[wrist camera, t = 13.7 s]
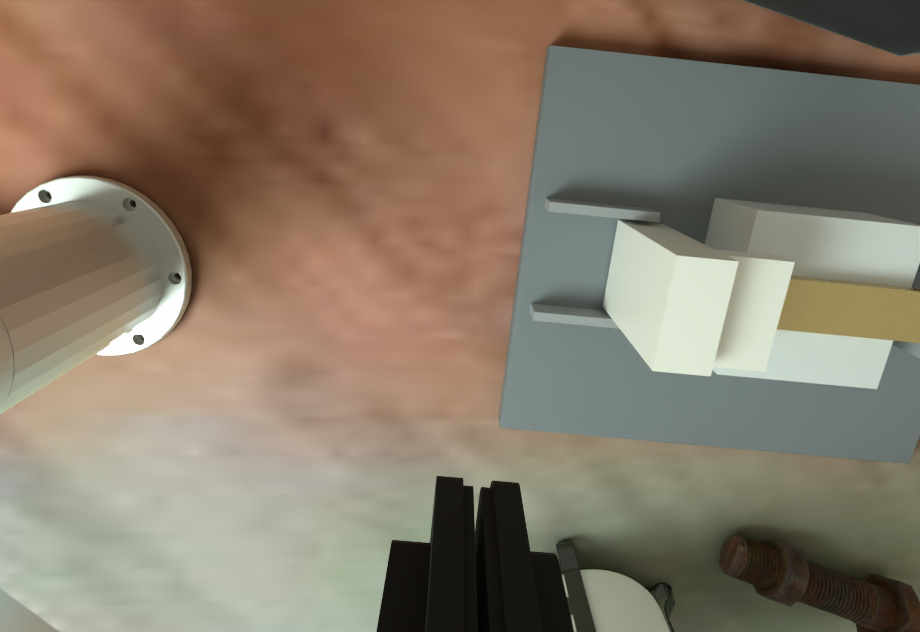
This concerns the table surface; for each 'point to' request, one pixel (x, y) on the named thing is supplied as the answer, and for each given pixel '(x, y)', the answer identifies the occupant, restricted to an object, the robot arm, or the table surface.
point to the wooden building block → (851, 309)
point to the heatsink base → (679, 179)
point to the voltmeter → (859, 20)
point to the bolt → (821, 586)
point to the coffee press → (611, 599)
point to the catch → (693, 300)
